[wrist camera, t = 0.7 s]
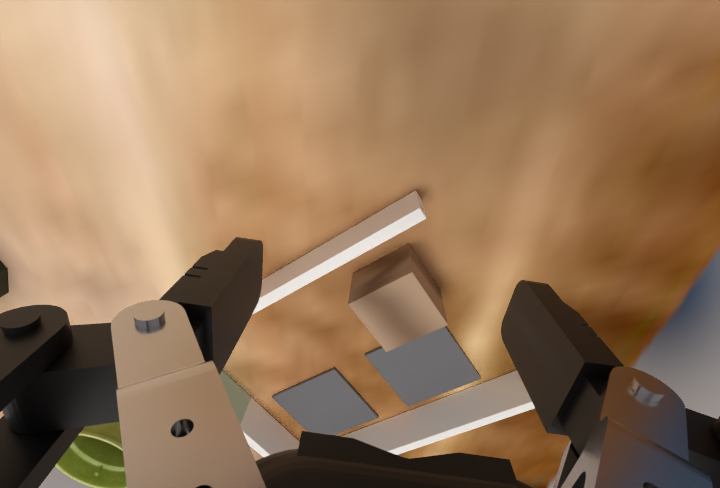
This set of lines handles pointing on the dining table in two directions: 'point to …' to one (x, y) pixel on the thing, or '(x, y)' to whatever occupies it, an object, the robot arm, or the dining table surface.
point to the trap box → (377, 366)
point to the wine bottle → (3, 280)
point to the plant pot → (96, 457)
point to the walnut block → (397, 299)
